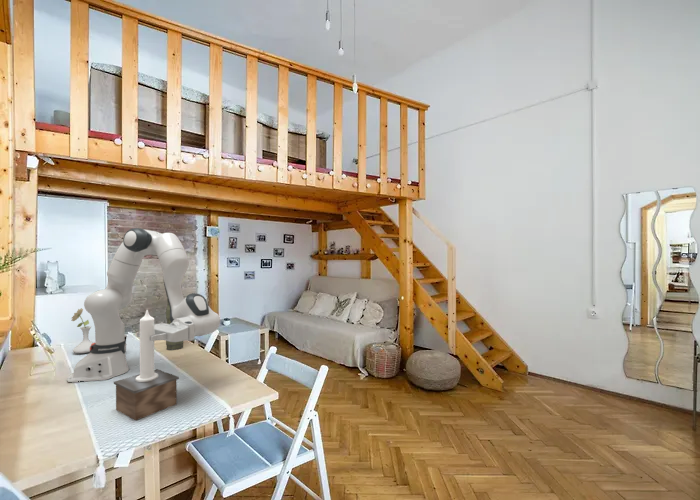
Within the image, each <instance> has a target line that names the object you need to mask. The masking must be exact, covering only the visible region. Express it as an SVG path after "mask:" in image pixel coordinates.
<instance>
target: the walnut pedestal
mask: <svg viewBox="0 0 700 500" xmlns="http://www.w3.org/2000/svg"><path fill="white" fill-rule="evenodd" d="M154 373H157V374H158V378H157V379H155V380H153V381H149V382H137V381H136V377H137V376H139V375H140V373H138V374H135V375H132V376H128V377H125V378H121V379H119V380H115V381H113V385H115V410H116V411H118V412H119V413H121V414H123V415H125V416H127V417H128V418H130V419H132V420H134V421H138V420H140V419H143V418H145V417H147V416H150V415H153V414H156V413H158V412H160V411H163V410H166V409H168V408H170V407H171V408H172V406H176V405H177V404H178V403H177V400H178V399H177V398H178V396H177V393H178V392H177V391H178V390H177V385H178V384H177V382H178V381H177V380H179V379H180V378H179V376H177V375H174V374H173V373H169V372H167V371H164V370H161V369H158V368H156V369H154Z"/></svg>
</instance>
